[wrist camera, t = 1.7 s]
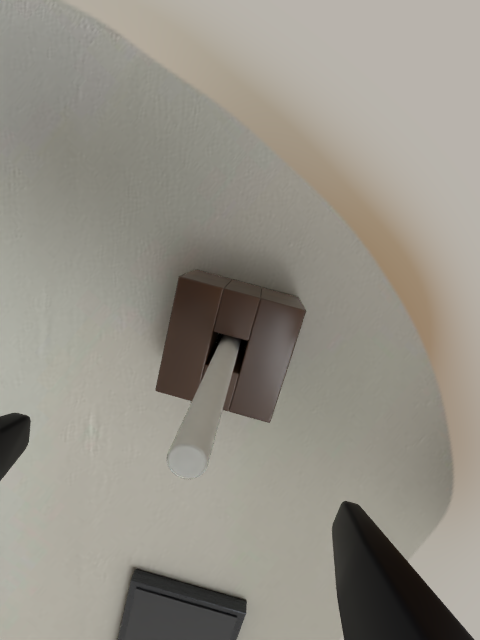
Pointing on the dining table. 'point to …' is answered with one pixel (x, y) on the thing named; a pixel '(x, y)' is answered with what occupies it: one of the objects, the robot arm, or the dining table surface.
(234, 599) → the tablet
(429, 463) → the dining table surface
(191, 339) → the pen stand
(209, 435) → the stylus
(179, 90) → the dining table surface
